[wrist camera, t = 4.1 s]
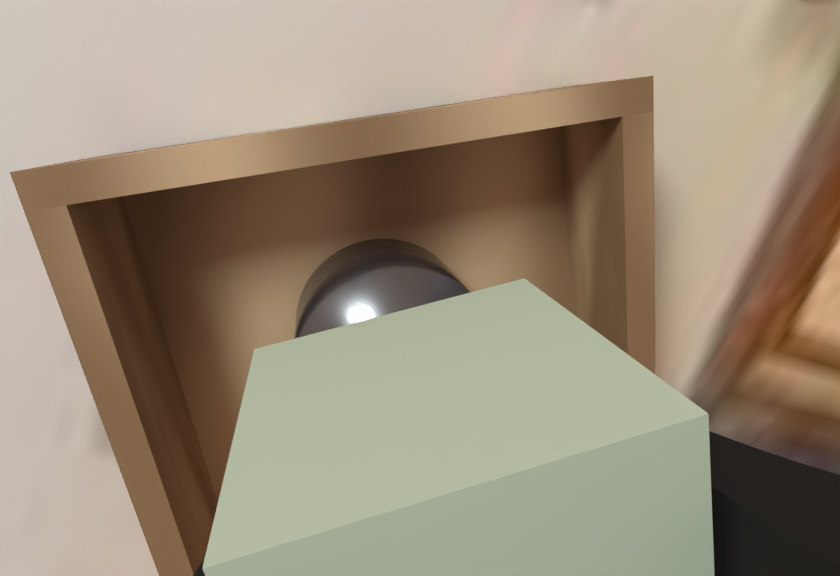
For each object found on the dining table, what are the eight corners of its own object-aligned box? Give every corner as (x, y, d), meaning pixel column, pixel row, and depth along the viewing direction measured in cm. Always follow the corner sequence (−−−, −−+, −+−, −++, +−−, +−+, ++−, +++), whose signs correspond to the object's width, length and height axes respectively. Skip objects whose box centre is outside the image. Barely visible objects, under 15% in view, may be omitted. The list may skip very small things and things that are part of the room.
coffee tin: (453, 224, 17) (490, 251, 13) (472, 378, 18) (509, 436, 15) (278, 255, 16) (270, 293, 13) (314, 412, 18) (315, 483, 14)
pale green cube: (524, 278, 10) (708, 413, 6) (557, 495, 12) (721, 745, 7) (254, 348, 10) (202, 569, 5) (327, 568, 11) (341, 891, 7)
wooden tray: (575, 85, 17) (653, 75, 13) (594, 472, 21) (655, 548, 17) (86, 158, 15) (9, 172, 11) (218, 567, 19) (196, 677, 15)
